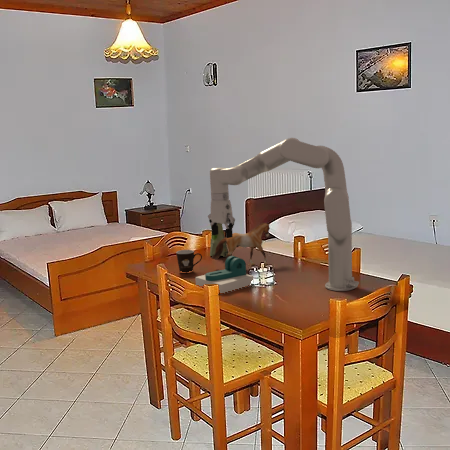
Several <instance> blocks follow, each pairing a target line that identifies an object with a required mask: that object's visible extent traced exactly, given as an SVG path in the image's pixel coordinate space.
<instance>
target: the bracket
mask: <svg viewBox="0 0 450 450" xmlns="http://www.w3.org/2000/svg"><path fill="white" fill-rule="evenodd" d="M246 263H247V262H246V261H245V260H244V259H243V258H241V257H238V256H234V255H232V256H229V257H228V258H227V259H226V258H225V261H224V269H220V270H215V271H210V272H209V271H208V272H206V273H205V274H204V275H205V278H206V280H207V281H218V280H223V279H228V278H233V277H238V276H243V275H246V274H247V264H246Z"/></svg>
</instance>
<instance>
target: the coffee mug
mask: <svg viewBox="0 0 450 450" xmlns="http://www.w3.org/2000/svg"><path fill="white" fill-rule="evenodd" d="M175 253H176V260H177V264H178V269H179V272H180V271H182V272H189V271H192V270H193V271H194V267H195V266H196V265H197V264H198V263H200V262H202V259H203V255H202V254H201V253H199V252H196V253H195V250H193V249H182V250H177V251H176V252H175ZM197 255H199V256H200V259H199V260H198V261H197V262H195V263H194V259H195V258H196V256H197Z"/></svg>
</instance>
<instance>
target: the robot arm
mask: <svg viewBox="0 0 450 450" xmlns="http://www.w3.org/2000/svg"><path fill="white" fill-rule="evenodd" d="M288 162H293V163H296V164H300V165H302V166H305V167H309V168H313V169H321V170H322V172H323V180H324V181H323V182H324V187H325V189H324V191H325V193H324V199H323V202H324V204H323V206H324V213H325V224H326V231H327V235H328V236H327V237H328V238H327V239H328V240H327V241H328V242H327V245H328V246H327V248H328V249H327V251H328V258H327V259H328V281H327V282H326V283H325V285H324V287H325V288H326V289H328V290H329V291H334V292H335V291H336V292H347V291H351V290H352V291H353V290H354V289H356V288H358V285H359V284H360V282H359V281H358V280H357V281H356V280H355V276H353V260H352V259H353V251H352V250H353V242H352V240H353V239H352V238H353V237H352V233H353V232H352V231H353V230H352V229H353V227H352V226H353V225H352V224H353V223H352V219H351V209H350V200H349V199H350V198H349V194H348V188H347V181H346V174H345V173H346V172H345V167H344V163H343V160H342V159H341V157H340V155H339V154H338V153H337V152H336V151H335V150H333V149H332V148H329V147H327V146H325V145H313V144H310V143H306V142H303V141H300V140H299V139H297V138H296V137H288V138H286V139H284V140H282V141H281V142H278V143H276V144H275V145H272V146H271V147H268V148H267V149H264V150H263V151H261V152H259V153H258V154H257V155H255V156H254V157H252V158H250V159H248V160H246V161H244V162H242V163H240V164H238V165H236V166H232V167H228V168H226V167H213V168H211V169H210V170H209V181H210V185H209V186H210V195H211V196H210V199H211V200H210V213H209V214H208V215H207V217H208V222H209V223H210V228H211V227H212V229H211V232H212V235H218V225H217V224H218V223H220V224H222V225H224V226H225V238H231V237H233V228H234V226H235V221H236V218H235V217H234V216H233V210H232V208H233V207H232V204H231V199H230V197H229V196H230V195H229V186H239V185H241V184H242V183H244V182H246V181H248V180H249V179H252V178H254V177H256V176H258V175H260V174H264V173H266V172H269V171H272V170H274V169H276V168H278V167H279V166H282V165H285V164H286V163H288Z"/></svg>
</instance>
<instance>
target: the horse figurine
mask: <svg viewBox="0 0 450 450" xmlns="http://www.w3.org/2000/svg"><path fill="white" fill-rule="evenodd" d="M270 225H271V223H270V222H262V223H258V224H257V225H256V226H255V227H253V228H251V230H250V231H248V232H247V233H238V232H232V234H233V237H231V238H226V237H225V238H224V239H222V240H221V241H220V242H219V243H218V245H217V247H216V251H215V254H214V256H212V257H210V259H213V260H216V261H217V260H219V259H220V255H221V254H222V251H223V248H224V247H223V244H224V243H225V242H226V245H227V249H228V254H227V256H226V257H225V260H226V259H227V258H228V257H229V256H233V253H234V252H235V250H236V249H237V248H239V247H241V248H250V251H249V262H250V266H255V265H256V264H255V263H254V261H253V260H252V258H253V255H254V248H256V249H257V250H258V251H259V252H260V253H261V254H262V255H263V257H264V261H263V263H264V265H266V266H267V265H268V263H267V260H268V259H267V256H266V252H265V251H264V248H263V246H262V245H263V240H262V236H263V233H264V234H265V237H266V238H267V237H269V236H270V229H271V228H270Z"/></svg>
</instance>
